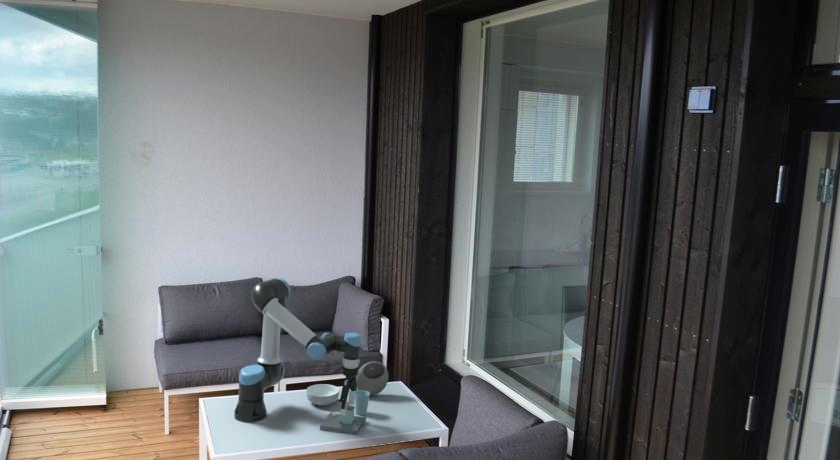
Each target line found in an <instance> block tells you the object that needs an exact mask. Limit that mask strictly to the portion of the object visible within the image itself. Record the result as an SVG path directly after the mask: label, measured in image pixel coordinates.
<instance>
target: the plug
mask: <svg viewBox="0 0 840 460" xmlns="http://www.w3.org/2000/svg"><path fill="white" fill-rule="evenodd" d="M354 416H355V405H349V404H347V410H346V416H345V415H342V418H341V424H348V425H353V424H354Z"/></svg>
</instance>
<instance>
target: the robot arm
mask: <svg viewBox="0 0 840 460" xmlns="http://www.w3.org/2000/svg"><path fill="white" fill-rule="evenodd" d="M291 291H292V290H291V286H290V284H289V283H288V282H287V281H286V280H285V279H283V278H281V277H274V278H271V279H269V280H264V281H261V282H258V283H256V284H255V285H254V286H253V288H252V290H251V293H250V298H251V301H252V303H253V305H254V307H255V308H256V309H257V310H258V311H259V312H260V313H261V314H262V315H263V321H262V331H261V332H262V333H261V334H262V335H261V336H262V337H261V346H260V347H261V348H260V356H259V357H257V359H256V360H257V361H256V364H250V365H246V366H244V367H242V368H241V369H240V371H239V375H238V401H237V403H236V405H235V406H236V407H235V409H234V414H233V415H234V416H233V417H234V419H236V420H237V421H240V422H245V423H246V422H249V423H252V422H253V423H254V422H258V421H259V422H260V421H262V420H264V419H265V418H266V417H267V413H268V411H267V406H266V404H265V401H264V397H265V390H267V389H269V388H271V387H273V386H276V385H277V384H279V382H280V381H282V380H283V378H284V376H285V373H286V372H285V366H284V364H283V362H282V359H281V358H280V356H279V353H280V342H281V341H280V340H281V329H283V330H285V332H287V333H288V334H289V335H290V336H291V337H292V338H294V339H295V340H296V341H297V342H298V343H300V345H302V346H303V347H304V348H305V349H306V353H307V355H308V357H309V358H310V359H312V360H319V359H323V358H324V357H325V356H327V355H328V354H331V353H333V352H338V353H343V355H342V356H343V357H342V367H341V368H342V371H341V374H342V375H343V376H344V377H345V378H344V379H343V380H342V389H341V392H340V399H339V403H340V409H339V410H340V411H339V414H340V415H345V416H346V410H347V405H351V406H355V391H358V390H357V383H356V376H357V375H358V371H359V369H360V368H359V364H360V363H361V360H360V353H361V345H362V343H361V341H362V338H361V337H362V336H361V335H360V334H359V333H357V332H347V333H345V335H340V334H336V333H332V332H324V333H322V335H321V336H320V337H319V336H318V335H317V334H316V333H315V332H313V331H312V330H311V329H310V328H309V327H308V326H306V324H304V323H303V322H302V321H301V320H300V319H298V318H297V317H296V316H295V315H294V314H292V312H290V311H289V310H288V309H287V308H286V302H287V300H288V299H289V298H290V296H291V293H292V292H291Z"/></svg>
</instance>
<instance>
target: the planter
mask: <svg viewBox="0 0 840 460" xmlns="http://www.w3.org/2000/svg"><path fill="white" fill-rule="evenodd" d="M388 381H389V371H388V369H387V367H386V365H384V364H383V363H382V362H379V361H369V362H367V363H365V364H363V365H362V366H361V367H360V368H359V369H358V375H357V376H356V383H357V388H356V389H357V391H358V390H364V391H368V392H369V393H370V396H369V397H373V396H376V395H378V394H380V393H382V392H383V391H384V390H385V388H386V387H387V385H388Z"/></svg>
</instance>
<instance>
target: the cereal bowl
mask: <svg viewBox="0 0 840 460" xmlns="http://www.w3.org/2000/svg"><path fill="white" fill-rule="evenodd" d="M305 391H306V392H305V393H306V394H305V395H306V399H307V400H308V401H309V402H310V403H312V404H314V405H317V406H320V407H323V406H324V407H326V406H329V405H330V404H333V403H335V402H336V401H337V400H338V398H339V396H340V388H339V387H338V386H337V385H333V384H327V383H325V384H324V383H323V384H322V383H319V384H313V385H310V386H308V387H307V388H306V390H305Z"/></svg>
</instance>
